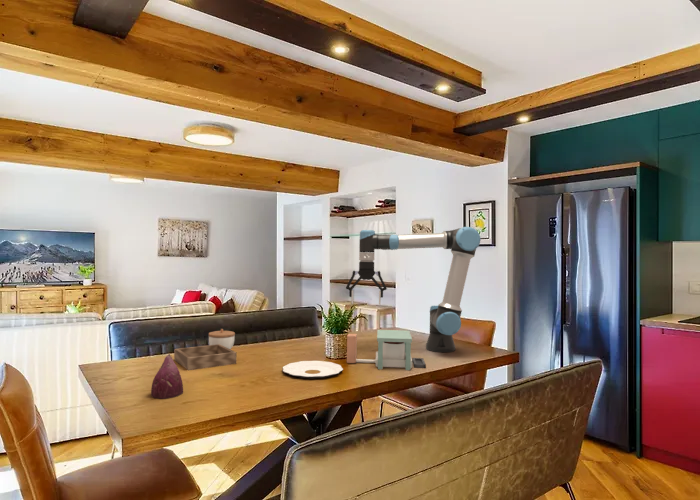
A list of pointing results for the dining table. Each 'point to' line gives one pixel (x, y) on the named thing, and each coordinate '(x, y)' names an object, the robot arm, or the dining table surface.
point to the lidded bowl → (222, 338)
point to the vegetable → (167, 381)
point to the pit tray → (418, 363)
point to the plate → (302, 366)
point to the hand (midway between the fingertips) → (366, 303)
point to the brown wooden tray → (204, 356)
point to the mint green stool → (394, 337)
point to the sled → (352, 359)
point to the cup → (394, 350)
